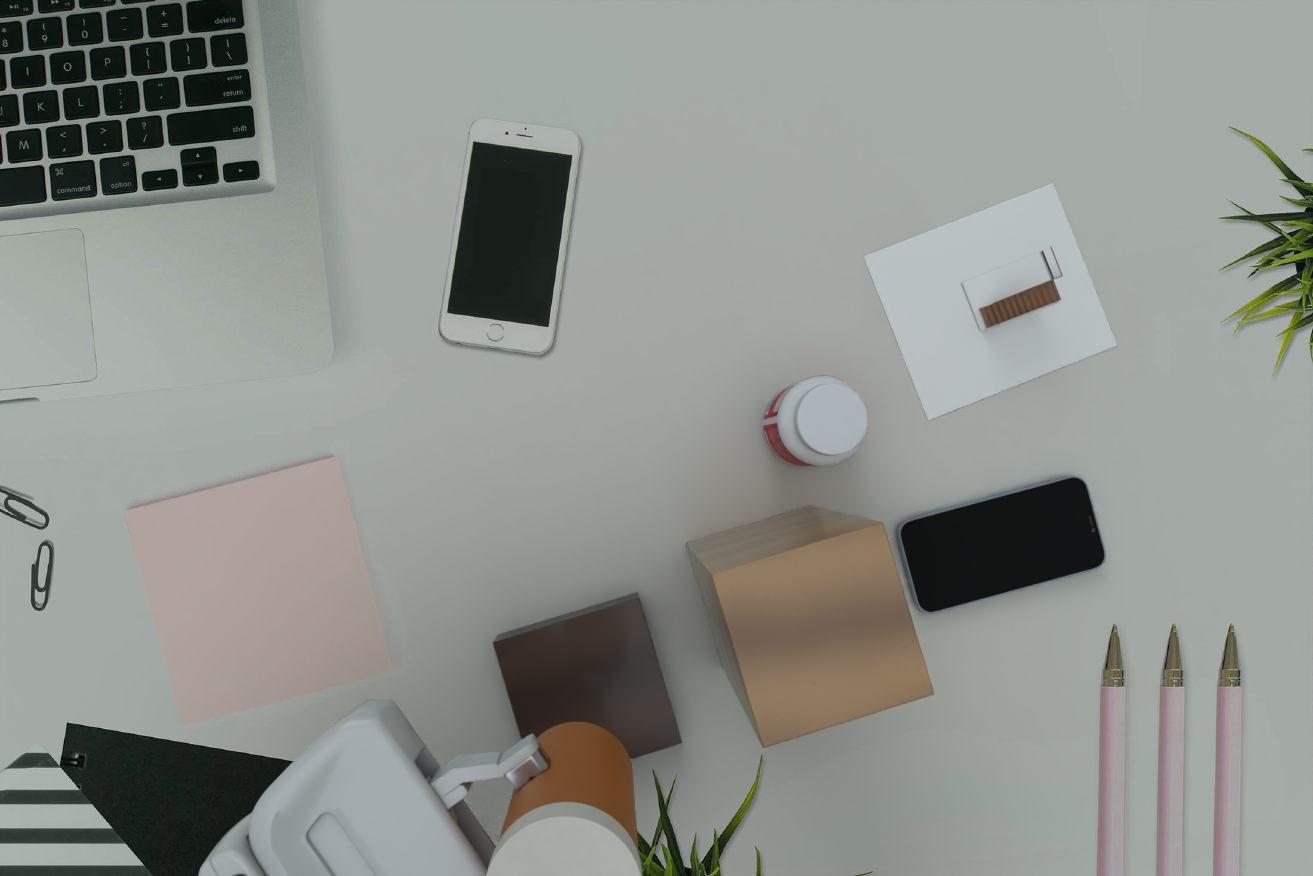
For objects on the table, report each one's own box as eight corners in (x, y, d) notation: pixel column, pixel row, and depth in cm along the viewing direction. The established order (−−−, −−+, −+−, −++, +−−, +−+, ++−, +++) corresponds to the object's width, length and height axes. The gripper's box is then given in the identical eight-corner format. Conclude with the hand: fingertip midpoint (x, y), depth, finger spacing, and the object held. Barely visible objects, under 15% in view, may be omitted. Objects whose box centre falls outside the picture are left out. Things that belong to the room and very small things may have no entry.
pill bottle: (836, 469, 73) (875, 471, 62) (757, 462, 73) (781, 462, 62) (843, 389, 74) (883, 376, 62) (764, 381, 73) (790, 367, 62)
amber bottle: (649, 817, 51) (662, 950, 37) (536, 852, 50) (508, 999, 37) (616, 704, 51) (617, 796, 37) (502, 739, 50) (462, 844, 37)
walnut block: (679, 731, 72) (682, 743, 69) (539, 775, 72) (535, 789, 69) (637, 591, 73) (638, 597, 70) (497, 634, 72) (492, 642, 69)
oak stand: (848, 630, 73) (935, 694, 53) (723, 669, 73) (763, 748, 53) (810, 504, 73) (883, 521, 53) (685, 542, 73) (710, 574, 53)
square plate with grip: (1052, 182, 75) (1087, 160, 69) (1117, 345, 74) (1157, 336, 69) (863, 256, 74) (883, 239, 68) (928, 420, 74) (953, 417, 68)
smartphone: (895, 522, 73) (1084, 471, 73) (891, 521, 73) (1078, 471, 74) (920, 617, 72) (1109, 566, 73) (917, 615, 73) (1103, 564, 74)
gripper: (453, 1236, 40) (722, 1040, 41) (175, 839, 40) (450, 648, 41) (475, 1131, 47) (707, 962, 47) (234, 787, 47) (471, 622, 47)
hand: (586, 814), depth 44 cm, fingers closed on amber bottle, 6 cm apart
